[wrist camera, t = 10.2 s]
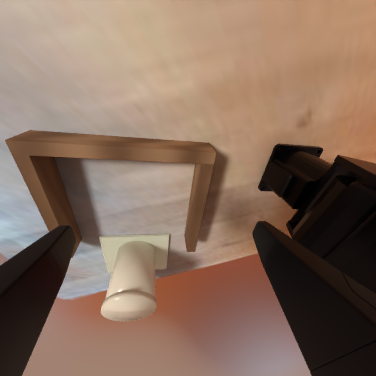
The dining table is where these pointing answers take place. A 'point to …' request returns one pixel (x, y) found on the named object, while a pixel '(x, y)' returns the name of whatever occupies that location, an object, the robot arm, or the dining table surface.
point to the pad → (114, 242)
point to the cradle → (104, 149)
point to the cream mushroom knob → (131, 283)
